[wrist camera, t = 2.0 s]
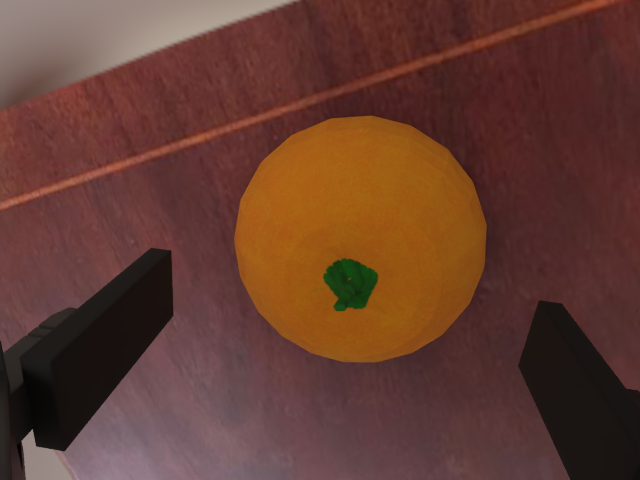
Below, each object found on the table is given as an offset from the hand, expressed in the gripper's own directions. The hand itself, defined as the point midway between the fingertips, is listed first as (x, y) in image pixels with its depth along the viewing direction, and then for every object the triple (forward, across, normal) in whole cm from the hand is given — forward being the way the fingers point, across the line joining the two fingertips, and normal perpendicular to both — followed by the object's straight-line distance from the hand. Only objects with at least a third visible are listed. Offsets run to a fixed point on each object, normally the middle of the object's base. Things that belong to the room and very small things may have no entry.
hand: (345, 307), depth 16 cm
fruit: (+10, 0, 0) cm, 10 cm away
